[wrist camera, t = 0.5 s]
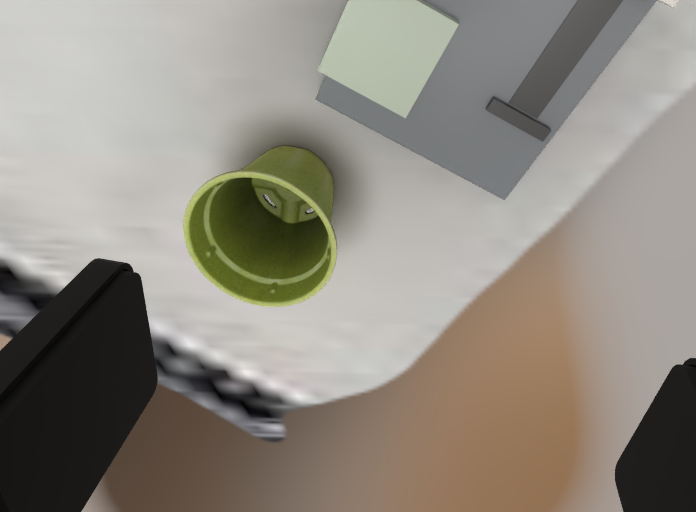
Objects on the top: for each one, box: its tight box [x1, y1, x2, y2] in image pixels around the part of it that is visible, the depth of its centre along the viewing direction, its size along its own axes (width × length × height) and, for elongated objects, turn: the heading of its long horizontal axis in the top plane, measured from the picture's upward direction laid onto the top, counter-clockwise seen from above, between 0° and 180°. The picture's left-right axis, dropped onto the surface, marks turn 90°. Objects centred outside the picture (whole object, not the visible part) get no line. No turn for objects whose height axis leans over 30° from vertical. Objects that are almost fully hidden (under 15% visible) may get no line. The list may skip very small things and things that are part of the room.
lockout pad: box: [318, 0, 459, 118], centre depth 31 cm, size 6×6×1 cm
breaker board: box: [316, 0, 657, 200], centre depth 30 cm, size 18×14×2 cm
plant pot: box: [183, 146, 337, 307], centre depth 36 cm, size 9×9×9 cm
